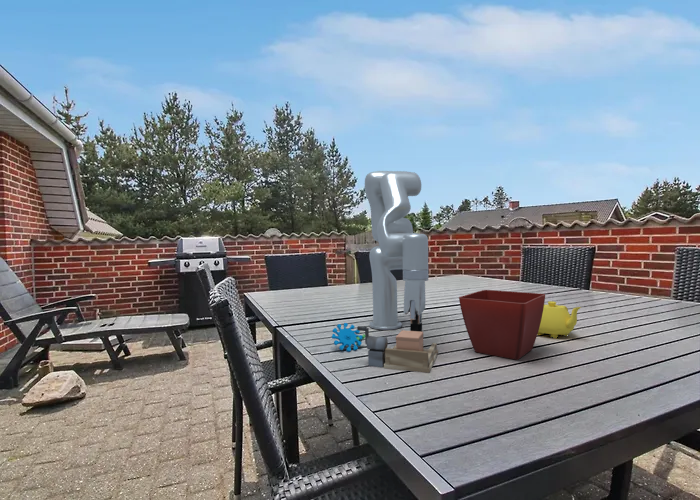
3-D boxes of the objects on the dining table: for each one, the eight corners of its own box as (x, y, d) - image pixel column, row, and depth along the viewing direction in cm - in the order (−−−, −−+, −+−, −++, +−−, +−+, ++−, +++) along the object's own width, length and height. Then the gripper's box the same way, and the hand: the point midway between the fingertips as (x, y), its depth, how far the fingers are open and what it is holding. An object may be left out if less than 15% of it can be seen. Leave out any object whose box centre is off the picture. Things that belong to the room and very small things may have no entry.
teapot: (596, 338, 125) (596, 303, 124) (568, 344, 118) (568, 308, 118) (541, 325, 142) (541, 295, 142) (514, 331, 136) (514, 299, 135)
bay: (373, 347, 119) (373, 315, 119) (438, 353, 112) (437, 319, 112) (355, 365, 103) (354, 328, 103) (429, 372, 96) (428, 333, 96)
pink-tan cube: (402, 354, 108) (401, 330, 108) (423, 356, 106) (423, 331, 106) (396, 362, 101) (395, 336, 101) (419, 364, 99) (418, 338, 99)
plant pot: (458, 352, 112) (457, 296, 112) (485, 339, 126) (484, 289, 126) (525, 366, 99) (524, 303, 99) (547, 349, 113) (546, 293, 113)
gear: (333, 348, 113) (331, 320, 120) (329, 358, 117) (327, 330, 124) (368, 350, 116) (364, 322, 123) (362, 359, 120) (359, 332, 127)
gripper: (408, 272, 120) (409, 329, 121) (397, 277, 107) (398, 342, 107) (432, 272, 118) (432, 330, 119) (423, 278, 104) (424, 344, 105)
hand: (416, 336), depth 113 cm, fingers closed
